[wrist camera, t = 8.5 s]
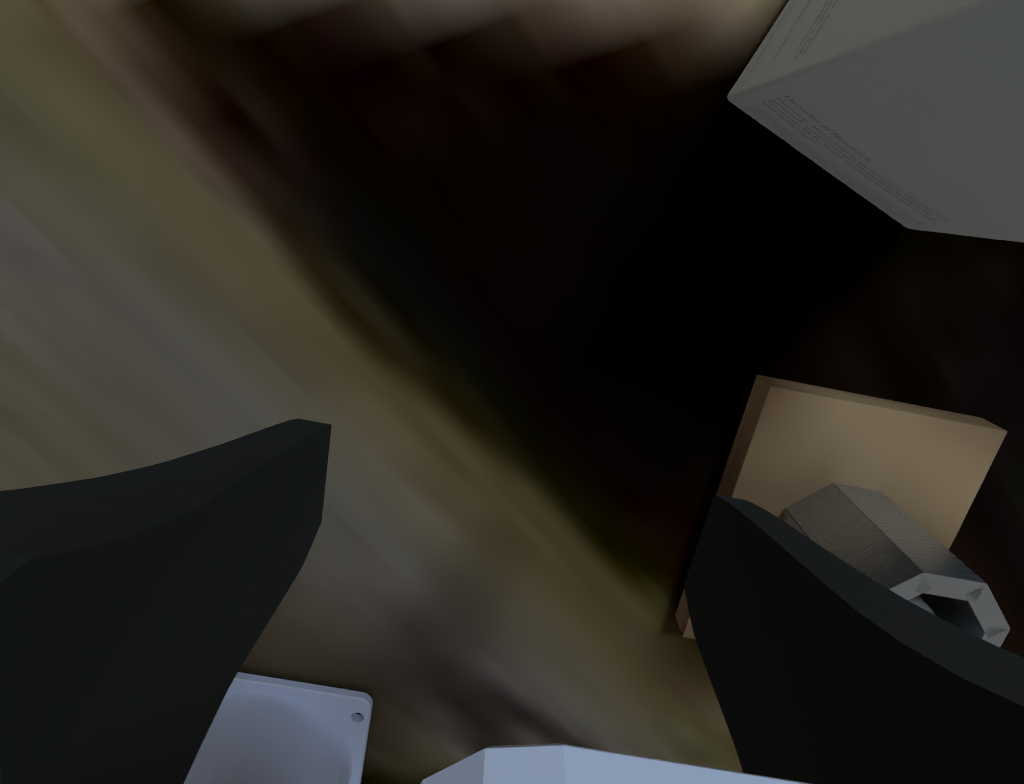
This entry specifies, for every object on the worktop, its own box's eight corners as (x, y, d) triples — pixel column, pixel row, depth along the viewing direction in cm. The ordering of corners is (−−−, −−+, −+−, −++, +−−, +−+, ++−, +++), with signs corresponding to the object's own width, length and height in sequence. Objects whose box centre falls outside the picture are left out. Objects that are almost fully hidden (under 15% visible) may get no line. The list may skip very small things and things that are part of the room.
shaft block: (871, 648, 25) (965, 775, 19) (675, 615, 24) (717, 736, 19) (981, 417, 21) (1129, 496, 16) (756, 374, 21) (834, 440, 16)
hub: (870, 599, 22) (963, 712, 18) (757, 580, 22) (821, 689, 17) (916, 497, 21) (1031, 591, 16) (797, 476, 21) (877, 564, 16)
